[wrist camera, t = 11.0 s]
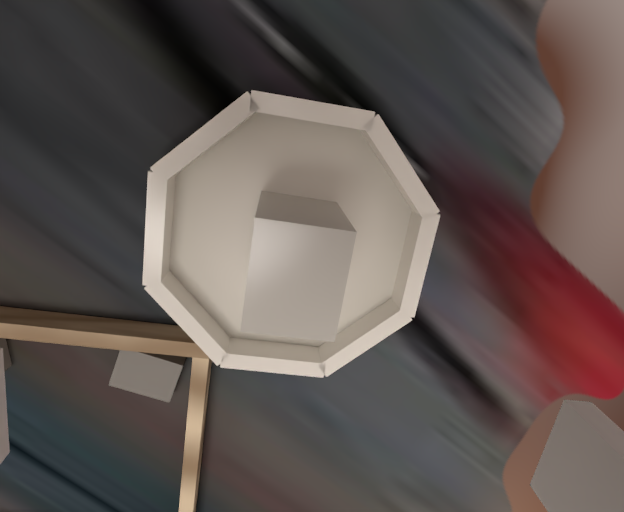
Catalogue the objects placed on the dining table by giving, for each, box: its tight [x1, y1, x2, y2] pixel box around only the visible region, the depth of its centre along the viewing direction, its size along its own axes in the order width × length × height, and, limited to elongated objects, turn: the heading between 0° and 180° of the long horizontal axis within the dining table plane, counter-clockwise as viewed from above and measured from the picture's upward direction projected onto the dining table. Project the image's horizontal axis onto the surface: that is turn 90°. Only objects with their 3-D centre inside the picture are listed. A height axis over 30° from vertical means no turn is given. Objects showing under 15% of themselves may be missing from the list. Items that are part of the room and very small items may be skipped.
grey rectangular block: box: [109, 350, 186, 402], centre depth 29 cm, size 3×4×2 cm
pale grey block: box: [240, 191, 357, 342], centre depth 23 cm, size 6×4×7 cm
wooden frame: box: [0, 306, 212, 512], centre depth 29 cm, size 18×20×2 cm
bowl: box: [142, 90, 440, 378], centre depth 26 cm, size 16×16×3 cm
